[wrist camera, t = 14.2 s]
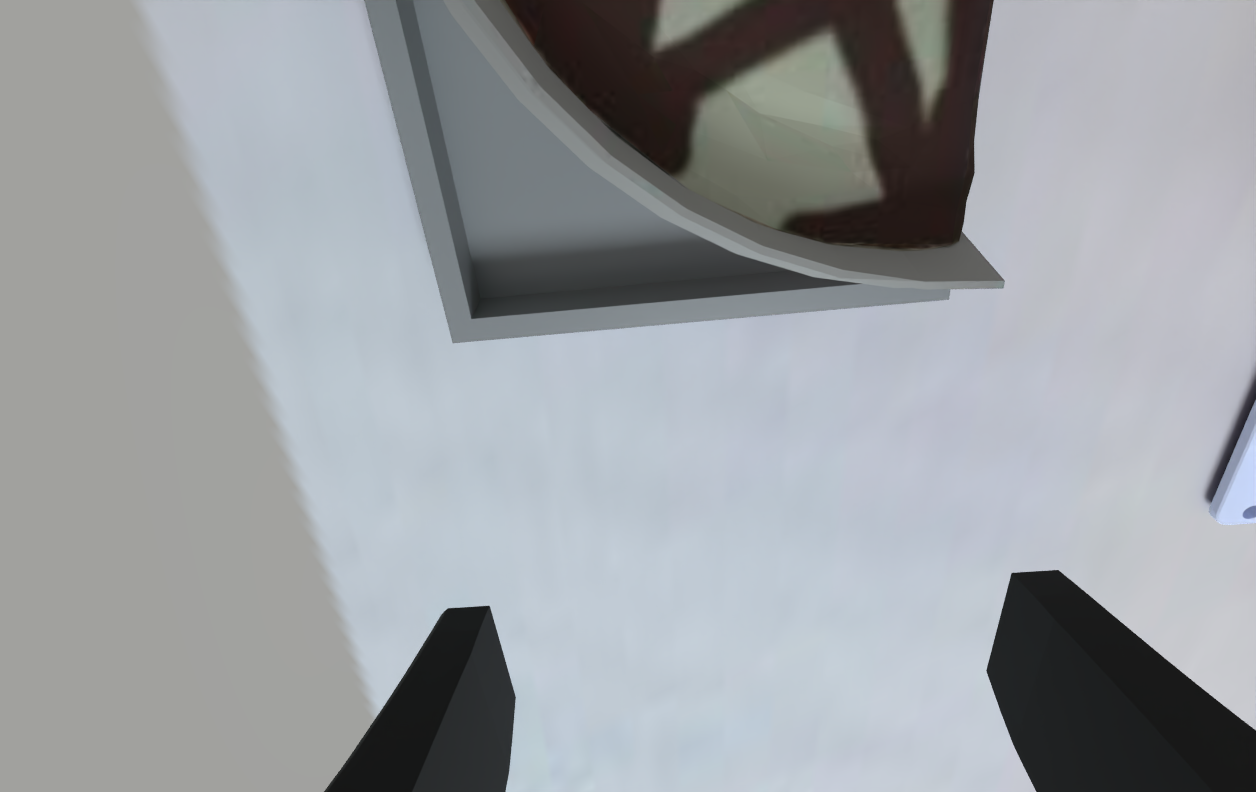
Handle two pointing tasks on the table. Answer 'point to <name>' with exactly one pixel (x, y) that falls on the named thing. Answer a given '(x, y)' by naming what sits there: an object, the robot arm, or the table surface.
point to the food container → (768, 120)
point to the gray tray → (553, 211)
